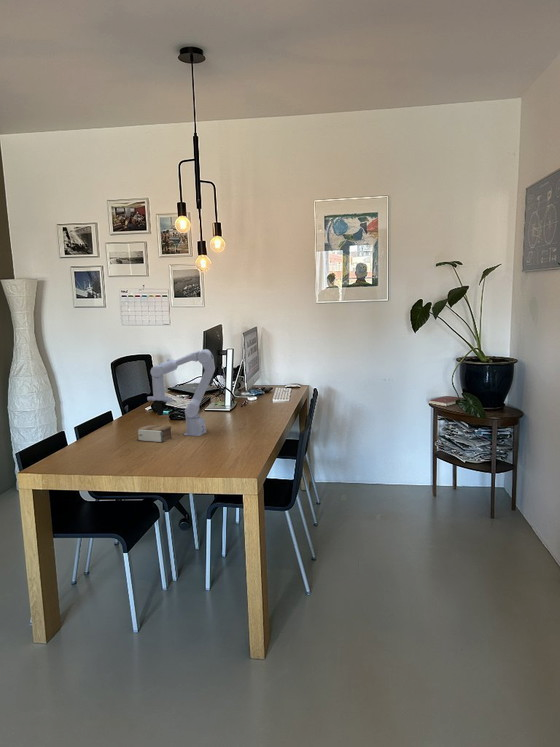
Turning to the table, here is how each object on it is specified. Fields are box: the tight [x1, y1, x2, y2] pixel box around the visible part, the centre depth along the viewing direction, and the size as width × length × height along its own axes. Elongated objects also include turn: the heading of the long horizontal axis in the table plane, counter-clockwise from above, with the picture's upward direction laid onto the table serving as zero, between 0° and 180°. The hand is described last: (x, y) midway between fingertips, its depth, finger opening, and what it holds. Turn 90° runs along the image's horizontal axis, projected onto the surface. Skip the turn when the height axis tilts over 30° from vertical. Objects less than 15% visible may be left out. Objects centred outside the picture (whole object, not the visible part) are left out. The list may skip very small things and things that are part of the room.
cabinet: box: [137, 424, 172, 443], centre depth 260 cm, size 15×7×6 cm, turn 69°
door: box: [137, 429, 163, 443], centre depth 256 cm, size 14×2×5 cm, turn 68°
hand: (160, 415), depth 266 cm, fingers closed
